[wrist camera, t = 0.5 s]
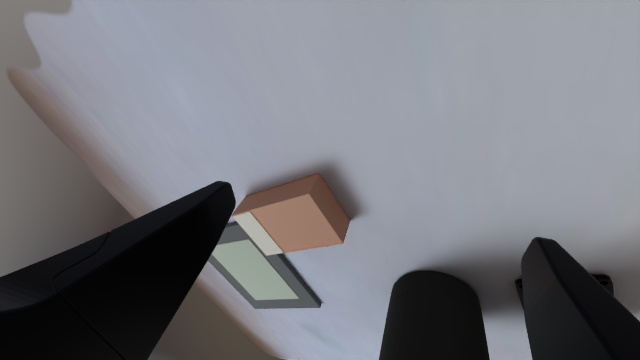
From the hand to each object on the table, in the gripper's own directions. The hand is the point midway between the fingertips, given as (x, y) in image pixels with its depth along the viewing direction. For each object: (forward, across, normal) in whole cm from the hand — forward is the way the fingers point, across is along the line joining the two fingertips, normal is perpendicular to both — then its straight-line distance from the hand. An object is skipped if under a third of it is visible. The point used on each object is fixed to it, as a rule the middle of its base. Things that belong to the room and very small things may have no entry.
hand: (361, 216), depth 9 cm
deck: (+14, +9, +14) cm, 22 cm away
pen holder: (+14, -6, +23) cm, 28 cm away
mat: (+14, +16, +27) cm, 34 cm away
